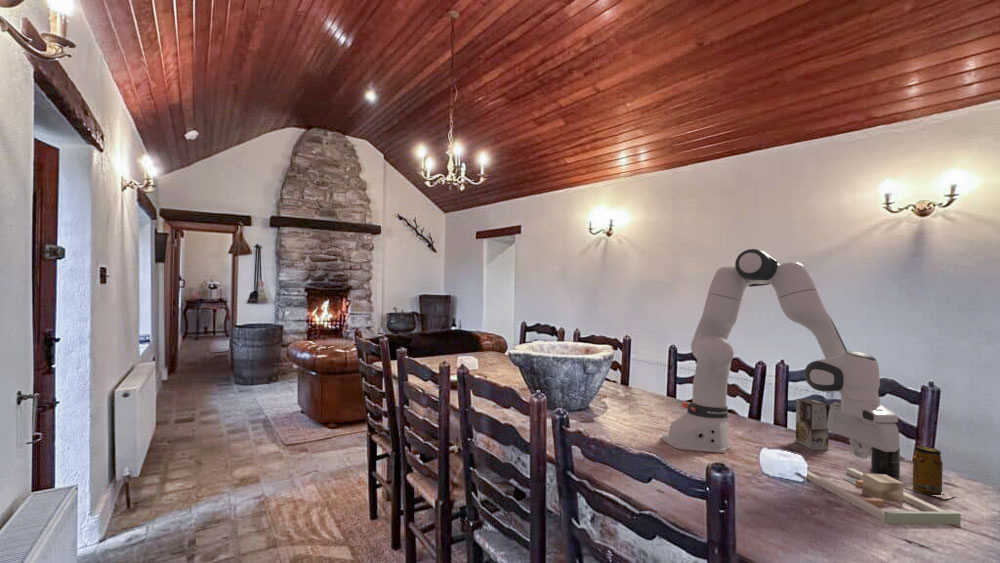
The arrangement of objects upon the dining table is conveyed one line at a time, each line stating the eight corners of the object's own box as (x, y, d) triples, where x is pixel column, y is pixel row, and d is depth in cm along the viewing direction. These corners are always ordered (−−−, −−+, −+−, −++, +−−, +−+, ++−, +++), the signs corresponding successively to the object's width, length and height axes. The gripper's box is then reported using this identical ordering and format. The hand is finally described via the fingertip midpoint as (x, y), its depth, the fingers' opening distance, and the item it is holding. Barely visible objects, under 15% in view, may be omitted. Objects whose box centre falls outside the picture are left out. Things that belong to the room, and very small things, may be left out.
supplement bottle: (895, 471, 143) (895, 432, 143) (903, 478, 137) (904, 438, 137) (867, 466, 146) (868, 429, 146) (874, 474, 140) (875, 434, 140)
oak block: (879, 501, 121) (880, 482, 121) (862, 491, 127) (863, 473, 127) (903, 502, 120) (903, 483, 120) (885, 492, 126) (885, 474, 126)
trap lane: (888, 523, 108) (888, 513, 108) (795, 472, 138) (795, 464, 138) (960, 524, 109) (960, 513, 109) (852, 473, 140) (853, 465, 140)
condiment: (918, 484, 133) (918, 443, 133) (957, 497, 125) (957, 453, 125) (905, 488, 130) (906, 446, 130) (944, 501, 122) (945, 456, 122)
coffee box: (829, 450, 160) (830, 404, 161) (810, 449, 160) (812, 403, 161) (812, 442, 169) (813, 398, 170) (794, 441, 170) (795, 397, 170)
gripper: (821, 400, 141) (821, 445, 141) (882, 418, 121) (882, 470, 121) (840, 400, 142) (840, 445, 141) (904, 418, 122) (904, 470, 121)
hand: (860, 457), depth 131 cm, fingers closed
